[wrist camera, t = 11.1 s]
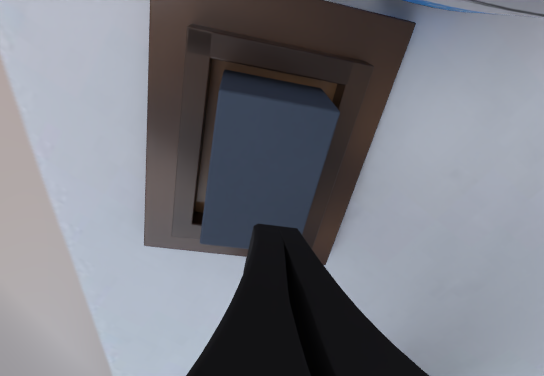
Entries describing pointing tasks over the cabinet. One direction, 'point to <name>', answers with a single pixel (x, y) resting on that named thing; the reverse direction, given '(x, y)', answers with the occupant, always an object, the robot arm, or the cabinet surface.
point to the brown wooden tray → (271, 64)
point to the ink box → (489, 6)
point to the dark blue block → (264, 156)
